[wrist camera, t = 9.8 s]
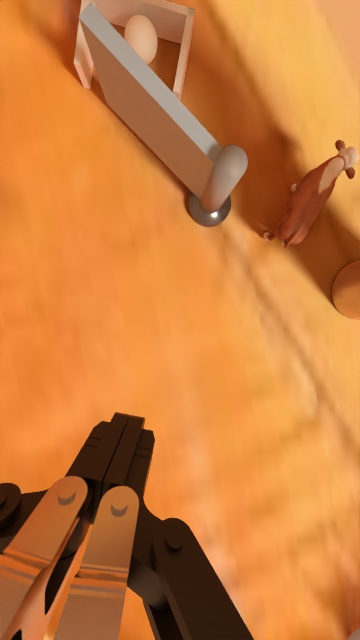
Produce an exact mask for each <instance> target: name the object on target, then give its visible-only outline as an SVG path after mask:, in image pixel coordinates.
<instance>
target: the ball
mask: <svg viewBox="0 0 360 640" xmlns="http://www.w3.org/2000/svg"><path fill="white" fill-rule="evenodd" d="M124 39H125V41H126V42H127V43H128V44H129V45H130V46H131V47H132V48H133V49H134V51H135V52H136V53H137V54H138V55H139V56H140V57H141V58H142V59H143V60H144V62H145V63H146V64H149V63H150V62H152V60H153V59H154V57H155V55H156V52H157V45H158V42H157V34H156V31H155V28H154V26H153V24H152V23H151V21H150V20H149V19H148V18H147V17H145V16H143V15H135V16H133V17H132V18H130V20H129V21H128V23H127V25H126V28H125V33H124Z"/></svg>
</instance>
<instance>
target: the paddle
mask: <svg viewBox="0 0 360 640" xmlns="http://www.w3.org/2000/svg"><path fill="white" fill-rule="evenodd" d="M78 18H79V21H80V24H81V27H82V30H83V33H84V36H85V39H86V42H87V45H88V48H89V51H90V54H91V57H92V60H93V63H94V66H95V69H96V72H97V76H98V79H99V82H100V85H101V88H102V91H103V94H104V97H105V100H106V103H107V104H108V105H109V106H110V107H111V109H112V110H113V111H114V112H115V113H116V114H117V115H118V116H119V117H120V118H121V119H122V120H123V121H124V122H125V123H126V124H127V125H128V126H129V127H130V128H131V129H132V130H133V131H134V132H135V133H136V134H137V135H138V137H139V138H140V139H141V140H142V141H143V142H144V143H145V144H146V145H147V146H148V147H149V148H150V149H151V150H152V151H153V152H154V153H155V154H156V155H157V156H158V157H159V158H160V159H161V160H162V161H163V162H164V164H165V165H166V166H167V167H168V168H169V169H170V170H171V171H172V172H173V173H174V174H175V175H176V176H177V177H178V178H179V179H180V180H181V181H182V182H183V183H184V184H185V185H186V186H187V187H188V188H189V189H190V190H191V192H192V193H193V194H194V195H195V196H196V197H197V198H198V199H199V200H200V207H201V209H202V210H203V211H204V212H205V213H207V214H213V213H215V212H217V211H218V210H219V208H220V207H221V206H222V204H223V203H224V201H225V200H226V198H227V197H228V196H229V194H230V193H231V191H232V190H233V188H234V187H235V186H236V184H237V183H238V181H239V180H240V178H241V177H242V176H243V174H244V173H245V171H246V169H247V165H248V159H247V155H246V153H245V151H244V150H243V149H242V148H241V147H239V146H237V145H227V146H225V147H223V148H222V146H221V145H220V144H219V143H218V142H217V141H216V140H215V139H214V138H213V137H212V135H211V134H210V133H209V132H208V131H207V130H206V129H205V128H204V127H203V126H202V124H201V123H200V122H199V121H198V120H197V119H196V118H195V117H194V116H193V114H192V113H191V112H190V111H189V110H188V109H187V108H186V107H185V106H184V105H183V103H182V102H181V101H180V100H179V99H178V98H177V97H176V96H175V95H174V94H173V92H172V91H171V90H170V89H169V88H168V87H167V86H166V85H165V84H164V82H163V81H162V80H161V79H160V78H159V77H158V76H157V75H156V74H155V73H154V71H153V70H152V69H151V68H150V67H149V66H148V65H147V64H146V63H145V62H144V60H143V59H142V58H141V57H140V56H139V55H138V54H137V53H136V52H135V51H134V49H133V48H132V47H131V46H130V45H129V44H128V43H127V42H126V41H125V39H124V38H123V37H122V36H121V35H120V34H119V33H118V32H117V31H116V30H115V28H114V27H113V26H112V25H111V24H110V23H109V22H108V21H107V20H106V19H105V17H104V16H103V15H102V14H101V13H100V12H99V11H98V10H97V9H96V8H95V6H94V5H93V4H92V3H91V2H90V3H89V4H88V5H87V6H86V8H85V9H84V10H83V11H82V13H81V14H80V15H79V16H78Z"/></svg>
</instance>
